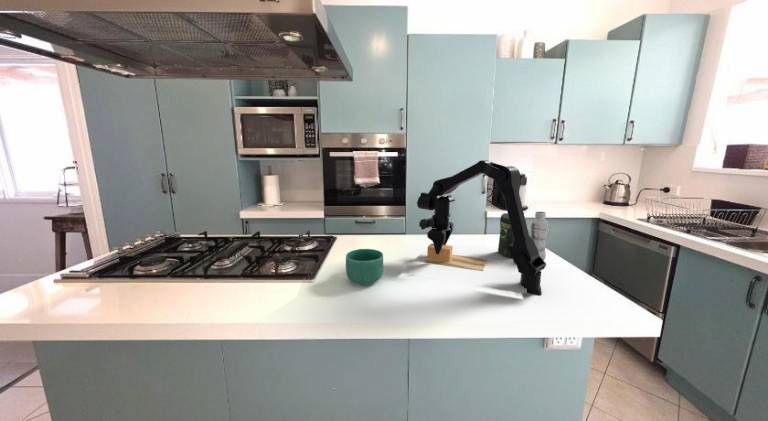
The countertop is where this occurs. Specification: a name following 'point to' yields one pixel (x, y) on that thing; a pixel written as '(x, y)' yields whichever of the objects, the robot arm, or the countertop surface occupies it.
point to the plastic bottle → (539, 232)
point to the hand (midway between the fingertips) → (440, 250)
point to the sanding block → (443, 255)
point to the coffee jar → (505, 236)
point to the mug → (364, 266)
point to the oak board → (461, 262)
